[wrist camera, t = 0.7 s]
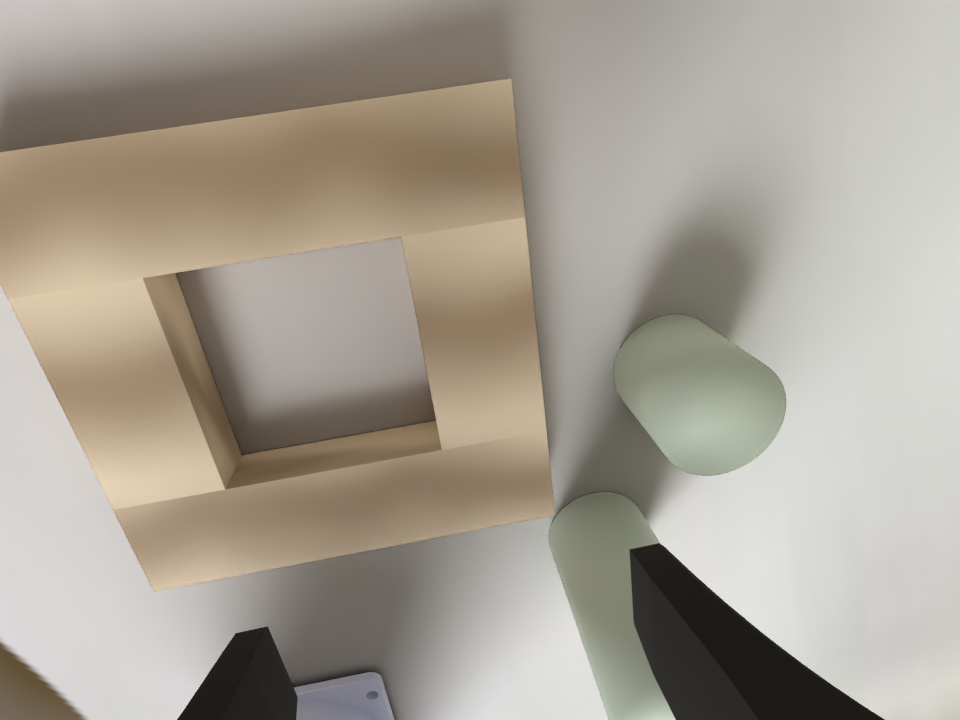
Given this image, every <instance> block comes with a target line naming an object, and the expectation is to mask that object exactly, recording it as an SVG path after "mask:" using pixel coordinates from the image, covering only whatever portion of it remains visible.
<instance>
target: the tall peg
mask: <svg viewBox="0 0 960 720" xmlns="http://www.w3.org/2000/svg"><path fill="white" fill-rule="evenodd" d="M657 543H659V541H658V539H657V538H656V536H655V534H654V533H653V531H652V529H651V528H650V526H649V524H648V523H647V521H646V519H645V518H644V516H643V514H642V513H641V511H640V509H639V508H638V506H637V505H636V504H635V503H634V502H633V501H632V500H630V499H629V498H627V497H625V496H624V495H621V494H618V493H613V492H596V493H591V494H587V495H584V496H581V497H579V498H577V499H575V500H573V501H572V502H570V503H569V504H568V505H566V506H565V507H564V508H563V509H562V510H561V511H560V512H559V513H558V514H557V516H556V517H555V519H554V520H553V522H552V525H551V527H550V531H549V545H550V549H551V551H552V554H553V557H554V560H555V563H556V566H557V569H558V572H559V575H560V578H561V581H562V584H563V587H564V590H565V593H566V596H567V599H568V602H569V604H570V607H571V610H572V613H573V616H574V619H575V622H576V625H577V628H578V631H579V634H580V637H581V640H582V643H583V646H584V649H585V652H586V654H587V657H588V660H589V663H590V666H591V669H592V672H593V675H594V678H595V681H596V684H597V687H598V690H599V693H600V696H601V699H602V702H603V705H604V707H605V710H606V713H607V716H608V719H609V720H676V719H675V717H674V715H673V713H672V711H671V709H670V707H669V705H668V703H667V701H666V699H665V697H664V695H663V693H662V691H661V689H660V687H659V685H658V683H657V681H656V679H655V677H654V675H653V673H652V670H651V667H650V665H649V662H648V660H647V657H646V655H645V652H644V649H643V647H642V644H641V641H640V639H639V636H638V633H637V631H636V628H635V625H634V620H633V602H632V585H631V568H630V551H629V549H634V548H639V547H643V546H648V545H653V544H657Z"/></svg>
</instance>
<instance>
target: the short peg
mask: <svg viewBox="0 0 960 720" xmlns="http://www.w3.org/2000/svg"><path fill="white" fill-rule="evenodd" d="M613 378H614V384H615V388H616V390H617V393H618V395H619V396H620V398H621V399H622V400H623V402H624V403H625V404H626V406H627V407H628V408H629V409H630V411H631V412H632V413H633V415H634V416H635V417H636V419H637V420H638V421H639V422H640V424H641V425H642V426H643V428H644V429H645V430H646V431H647V433H648V434H649V435H650V437H651V438H652V439H653V441H654V442H655V443H656V444H657V446H658V447H659V448H660V450H661V451H662V452H663V454H664V455H665V456H666V457H667V459H668V460H669V461H670V462H671V463H672V464H673V465H675V466H676V467H677V468H679V469H681V470H683V471H685V472H688V473H691V474H695V475H704V476H707V475H719V474H723V473H727V472H730V471H733V470H736V469H738V468H740V467H742V466H744V465H746V464H747V463H749V462H751V461H752V460H754V459H755V458H756V457H758V456H759V455H760V454H761V453H762V452H763V451H764V450H765V449H766V448H767V447H768V446H769V445H770V443H771V442H772V441H773V439H774V438H775V437H776V435H777V433H778V431H779V430H780V427H781V425H782V423H783V419H784V416H785V411H786V394H785V390H784V387H783V384H782V382H781V380H780V379H779V377H778V376H777V375H776V373H775V372H773V371H772V370H771V369H770V368H769V367H767V366H766V365H764V364H763V363H761V362H760V361H759V360H757V359H756V358H754V357H753V356H751V355H750V354H748V353H747V352H745V351H744V350H742V349H741V348H739V347H738V346H737V345H735V344H734V343H732V342H731V341H729V340H728V339H726V338H725V337H723V336H722V335H720V334H719V333H718V332H716V331H715V330H713V329H712V328H710V327H709V326H707V325H706V324H704V323H703V322H701V321H700V320H698V319H696V318H694V317H691V316H688V315H681V314H671V315H664V316H660V317H657V318H654V319H652V320H650V321H648V322H646V323H644V324H643V325H641V326H640V327H638V328H637V329H636V330H635V331H633V332H632V333H631V334H630V335H629V336H628V338H627V339H626V340H625V342H624V343H623V344H622V346H621V348H620V349H619V352H618V354H617V356H616V359H615V363H614V369H613Z"/></svg>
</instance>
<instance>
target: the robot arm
mask: <svg viewBox="0 0 960 720" xmlns="http://www.w3.org/2000/svg"><path fill="white" fill-rule="evenodd" d="M629 551H630V568H631V585H632V602H633V620H634V625H635V628H636V631H637V633H638V636H639V639H640V641H641V644H642V647H643V649H644V652H645V655H646V657H647V660H648V662H649V665H650V667H651V670H652V673H653V675H654V677H655V679H656V681H657V683H658V685H659V687H660V689H661V691H662V693H663V695H664V697H665V699H666V701H667V703H668V705H669V707H670V709H671V711H672V713H673V715H674V717H675V719H676V720H884V719H883V718H881V717H880V716H878V715H876V714H875V713H873V712H872V711H870V710H869V709H867V708H865V707H864V706H862V705H861V704H859V703H858V702H856V701H855V700H853V699H852V698H850V697H849V696H848V695H846V694H845V693H843V692H842V691H840V690H839V689H837V688H836V687H834V686H833V685H831V684H830V683H828V682H827V681H826V680H824V679H823V678H821V677H820V676H819V675H817V674H816V673H814V672H813V671H812V670H810V669H809V668H807V667H806V666H805V665H803V664H802V663H801V662H799V661H798V660H797V659H795V658H794V657H793V656H791V655H790V654H789V653H787V652H786V651H785V650H783V649H782V648H781V647H780V646H778V645H777V644H776V643H774V642H773V641H772V640H771V639H769V638H768V637H767V636H765V635H764V634H763V633H762V632H760V631H759V630H758V629H757V628H755V627H754V626H753V625H752V624H751V623H749V622H748V621H747V620H746V619H745V618H743V617H742V616H741V615H740V614H739V613H737V612H736V611H735V610H734V609H733V608H731V607H730V606H729V605H728V604H727V603H725V602H724V601H723V600H722V599H721V598H720V597H719V596H717V595H716V594H715V593H714V592H713V591H712V590H711V589H709V588H708V587H707V586H706V585H705V584H704V583H703V582H702V581H701V580H699V579H698V578H697V577H696V576H695V575H694V574H693V573H692V572H691V571H690V570H688V569H687V568H686V567H685V566H684V565H683V564H682V563H681V562H680V561H679V560H678V559H677V558H676V557H675V556H674V555H673V554H671V553H670V552H669V551H668V550H667V549H666V548H665V547H664V546H663V545H661V544H660V543H657V544H653V545H648V546H643V547H639V548H634V549H629ZM177 720H394V716H393V713H392V710H391V706H390V703H389V700H388V697H387V693H386V690H385V687H384V683H383V680H382V677H381V676H380V675H379V674H378V673H375V672H367V673H362V674H357V675H352V676H347V677H342V678H337V679H333V680H328V681H323V682H318V683H313V684H308V685H303V686H298V687H293V685H292V683H291V680H290V678H289V676H288V673H287V671H286V668H285V666H284V664H283V661H282V659H281V657H280V654H279V652H278V650H277V647H276V645H275V643H274V640H273V638H272V636H271V633H270V631H269V629H268V627H263V628H259V629H254V630H249V631H245V632H240V633H236V634H235V635H234V637H233V638H232V640H231V641H230V643H229V644H228V645H227V647H226V648H225V650H224V651H223V653H222V654H221V656H220V657H219V659H218V660H217V662H216V663H215V665H214V666H213V668H212V669H211V671H210V672H209V674H208V675H207V677H206V678H205V680H204V681H203V683H202V684H201V686H200V687H199V689H198V690H197V692H196V693H195V694H194V696H193V697H192V699H191V700H190V702H189V703H188V705H187V706H186V708H185V709H184V711H183V712H182V714H181V715H180V716H179V718H178V719H177Z"/></svg>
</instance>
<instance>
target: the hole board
mask: <svg viewBox="0 0 960 720" xmlns="http://www.w3.org/2000/svg"><path fill="white" fill-rule="evenodd" d="M397 237H401V240H402V245H403V250H404V255H405V260H406V266H407V271H408V276H409V281H410V287H411V292H412V297H413V302H414V307H415V313H416V318H417V323H418V328H419V334H420V339H421V344H422V349H423V354H424V360H425V365H426V370H427V375H428V381H429V386H430V391H431V396H432V401H433V407H434V412H435V417H436V421H431V422H425V423H420V424H414V425H409V426H403V427H397V428H392V429H386V430H381V431H375V432H370V433H364V434H358V435H353V436H347V437H342V438H336V439H331V440H325V441H319V442H314V443H308V444H303V445H297V446H291V447H286V448H280V449H275V450H269V451H264V452H258V453H252V454H247V455H241V452H240V449H239V446H238V444H237V441H236V438H235V435H234V433H233V430H232V427H231V424H230V422H229V419H228V416H227V413H226V411H225V408H224V405H223V402H222V400H221V397H220V394H219V392H218V389H217V386H216V383H215V381H214V378H213V375H212V372H211V370H210V367H209V364H208V361H207V359H206V356H205V353H204V350H203V348H202V345H201V342H200V339H199V337H198V334H197V331H196V329H195V326H194V323H193V320H192V318H191V315H190V312H189V309H188V307H187V304H186V301H185V298H184V296H183V293H182V290H181V287H180V285H179V282H178V279H177V276H176V274H175V273H178V272H184V271H190V270H197V269H203V268H209V267H215V266H222V265H228V264H234V263H240V262H247V261H253V260H259V259H266V258H272V257H278V256H284V255H291V254H297V253H303V252H309V251H316V250H322V249H328V248H334V247H341V246H347V245H353V244H360V243H366V242H372V241H378V240H385V239H391V238H397ZM0 285H1V287H2V289H3V291H4V293H5V295H6V297H7V299H8V301H9V303H10V305H11V307H12V309H13V311H14V313H15V315H16V317H17V319H18V321H19V323H20V325H21V327H22V329H23V331H24V333H25V335H26V337H27V339H28V341H29V343H30V345H31V347H32V349H33V351H34V353H35V355H36V357H37V359H38V361H39V363H40V365H41V367H42V369H43V371H44V373H45V375H46V377H47V379H48V381H49V383H50V385H51V387H52V389H53V391H54V393H55V395H56V397H57V399H58V401H59V403H60V405H61V407H62V409H63V411H64V413H65V415H66V417H67V419H68V421H69V423H70V425H71V427H72V429H73V431H74V433H75V435H76V437H77V439H78V441H79V443H80V445H81V447H82V449H83V451H84V453H85V455H86V457H87V459H88V461H89V463H90V465H91V467H92V469H93V471H94V473H95V475H96V477H97V479H98V481H99V483H100V485H101V487H102V489H103V491H104V493H105V495H106V497H107V499H108V501H109V503H110V505H111V507H112V509H113V511H114V513H115V515H116V517H117V519H118V521H119V523H120V525H121V527H122V529H123V531H124V533H125V535H126V537H127V539H128V541H129V543H130V545H131V547H132V549H133V551H134V553H135V555H136V557H137V559H138V561H139V563H140V565H141V567H142V569H143V571H144V573H145V575H146V577H147V579H148V581H149V583H150V585H151V587H152V589H153V591H154V592H156V591H161V590H166V589H172V588H177V587H182V586H187V585H192V584H198V583H203V582H208V581H213V580H219V579H224V578H229V577H234V576H239V575H245V574H250V573H255V572H260V571H266V570H271V569H276V568H281V567H286V566H292V565H297V564H302V563H307V562H313V561H318V560H323V559H328V558H333V557H339V556H344V555H349V554H354V553H360V552H365V551H370V550H375V549H380V548H386V547H391V546H396V545H401V544H407V543H412V542H417V541H422V540H427V539H433V538H438V537H443V536H448V535H454V534H459V533H464V532H469V531H474V530H480V529H485V528H490V527H495V526H501V525H506V524H511V523H516V522H521V521H527V520H532V519H537V518H542V517H548V516H553V515H555V510H554V500H553V490H552V480H551V470H550V460H549V450H548V440H547V430H546V420H545V410H544V400H543V390H542V380H541V370H540V360H539V350H538V340H537V330H536V320H535V310H534V300H533V290H532V280H531V270H530V260H529V250H528V240H527V230H526V220H525V210H524V200H523V190H522V180H521V170H520V160H519V150H518V140H517V130H516V120H515V110H514V100H513V90H512V80H511V78H510V79H503V80H496V81H489V82H482V83H475V84H468V85H462V86H455V87H448V88H441V89H434V90H427V91H420V92H413V93H406V94H399V95H392V96H385V97H379V98H372V99H365V100H358V101H351V102H344V103H337V104H330V105H323V106H316V107H309V108H302V109H296V110H289V111H282V112H275V113H268V114H261V115H254V116H247V117H240V118H233V119H226V120H219V121H213V122H206V123H199V124H192V125H185V126H178V127H171V128H164V129H157V130H150V131H143V132H136V133H130V134H123V135H116V136H109V137H102V138H95V139H88V140H81V141H74V142H67V143H60V144H54V145H47V146H40V147H33V148H26V149H19V150H12V151H5V152H0Z"/></svg>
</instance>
